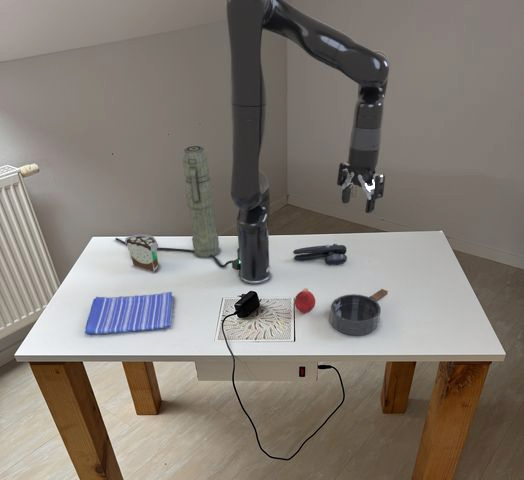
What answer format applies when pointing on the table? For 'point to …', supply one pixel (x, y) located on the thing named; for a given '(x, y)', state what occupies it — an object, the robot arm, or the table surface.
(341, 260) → the can opener
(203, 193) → the thermos
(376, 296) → the pan handle
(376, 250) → the table surface
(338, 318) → the pan
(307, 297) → the onion
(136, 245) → the cake slice
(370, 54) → the robot arm
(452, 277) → the table surface
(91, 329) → the dish towel
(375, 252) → the table surface
